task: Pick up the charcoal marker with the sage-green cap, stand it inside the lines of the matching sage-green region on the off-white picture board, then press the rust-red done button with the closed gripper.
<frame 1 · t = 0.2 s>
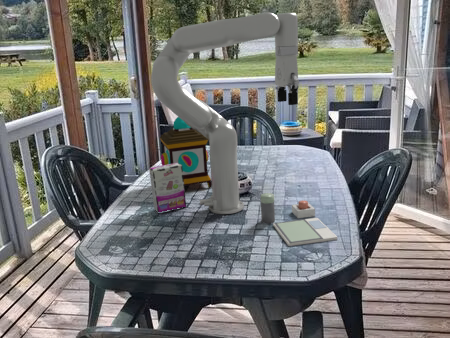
hand: (287, 103, 153), 36 cm above the table, tool pointing down, fingers open, 9 cm apart
decorative lantern: (187, 185, 188), on the table
done button: (303, 206, 150), point 3 cm above the table, slide at 0.0 cm
candy bar box: (170, 209, 162), on the table
marker: (268, 221, 146), on the table
picture board: (303, 232, 136), on the table
button housing: (303, 214, 150), on the table
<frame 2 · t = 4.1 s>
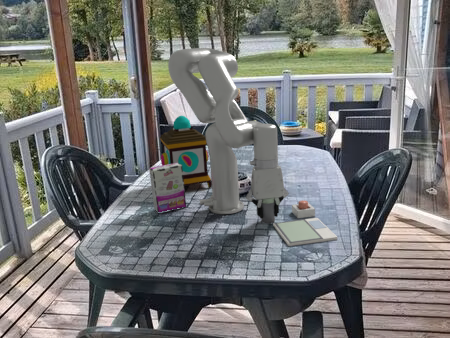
hand: (268, 215, 146), 2 cm above the table, tool pointing down, fingers closed on marker, 4 cm apart
marker: (268, 221, 146), on the table, touching gripper
everything else where it was.
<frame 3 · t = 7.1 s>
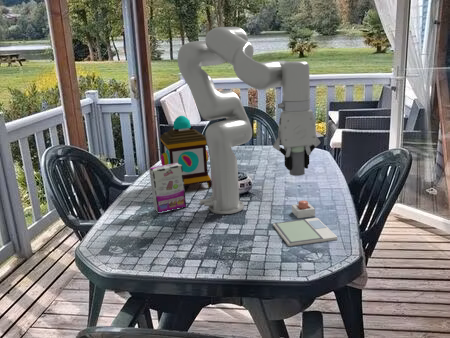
hand: (297, 167, 130), 21 cm above the table, tool pointing down, fingers closed on marker, 4 cm apart
marker: (297, 173, 131), point 19 cm above the table, touching gripper
everything else where it was.
when the fingers open (4 cm above the table, at t = 10.6 s): marker stays where it is, resting on picture board.
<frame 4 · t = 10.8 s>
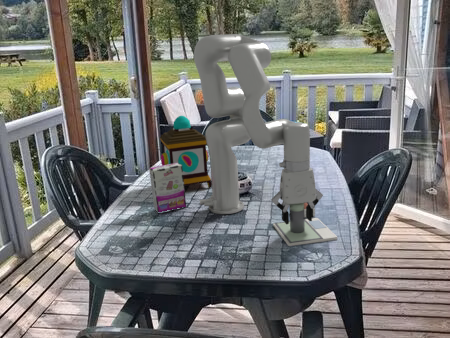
hand: (297, 220, 135), 4 cm above the table, tool pointing down, fingers open, 6 cm apart
marker: (297, 230, 136), point 1 cm above the table, touching picture board
everything else where it was.
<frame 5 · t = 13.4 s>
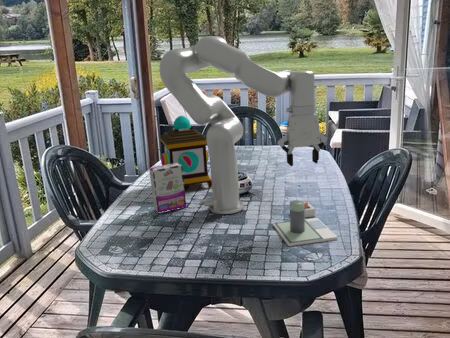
hand: (302, 163, 145), 18 cm above the table, tool pointing down, fingers open, 7 cm apart
nothing on the table moved.
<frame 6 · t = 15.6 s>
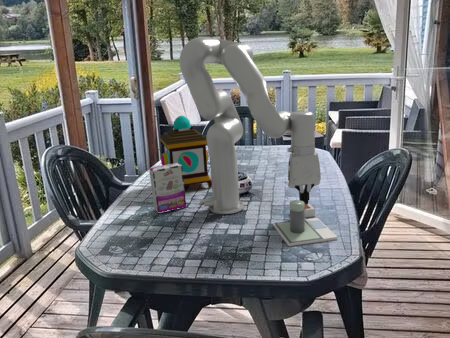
hand: (304, 202, 149), 4 cm above the table, tool pointing down, fingers closed
done button: (303, 206, 150), point 3 cm above the table, slide at 0.2 cm, touching gripper
everything else where it was.
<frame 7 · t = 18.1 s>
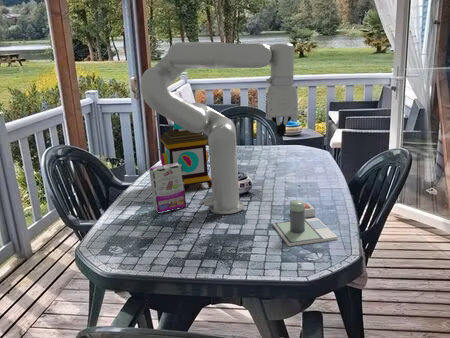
hand: (280, 135, 152), 26 cm above the table, tool pointing down, fingers closed
done button: (303, 209, 150), point 2 cm above the table, slide at 1.0 cm
everything else where it was.
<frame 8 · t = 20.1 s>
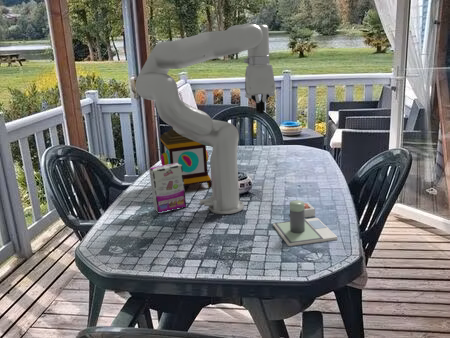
hand: (260, 113, 161), 32 cm above the table, tool pointing down, fingers closed
nothing on the table moved.
at the end: marker inside the target area (0.1 cm from its centre), point 0.9 cm above the table; marker tilted 0°; done button slide at 1.0 cm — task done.
